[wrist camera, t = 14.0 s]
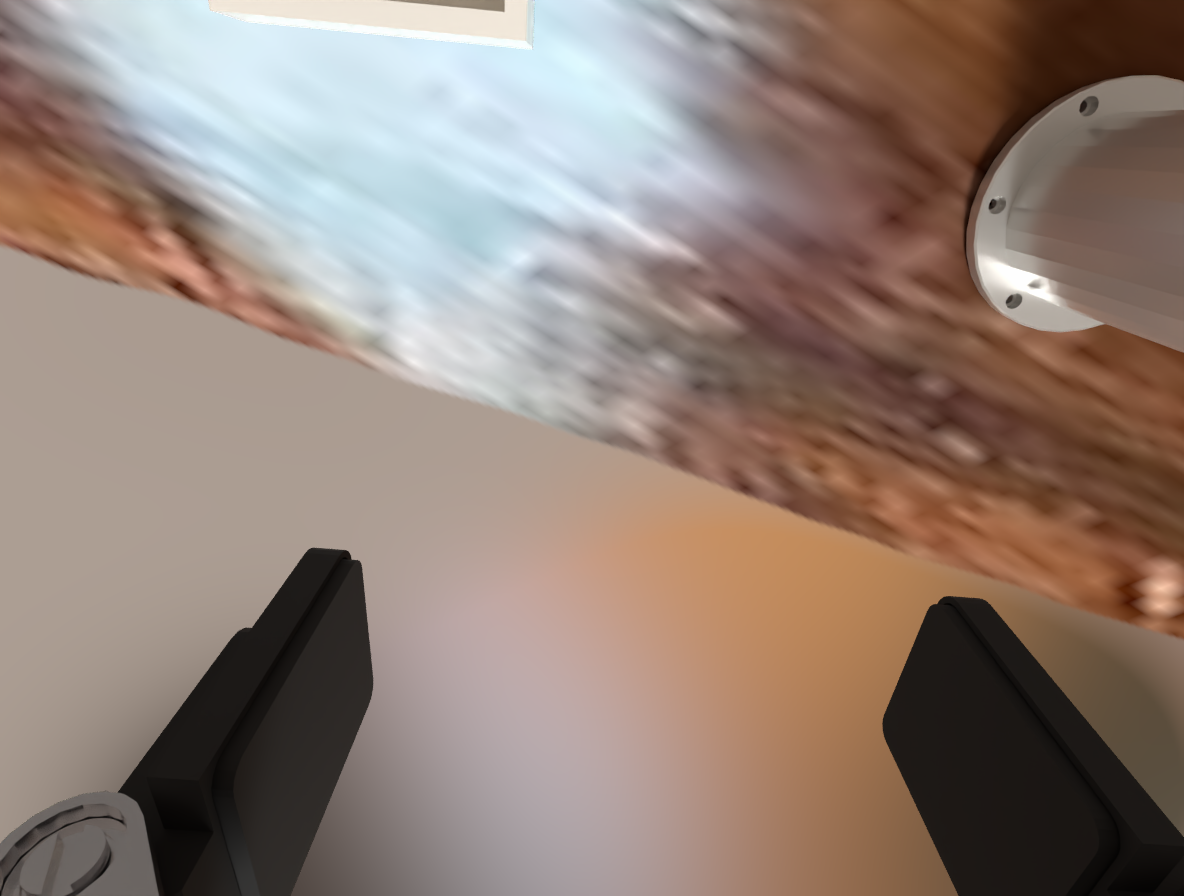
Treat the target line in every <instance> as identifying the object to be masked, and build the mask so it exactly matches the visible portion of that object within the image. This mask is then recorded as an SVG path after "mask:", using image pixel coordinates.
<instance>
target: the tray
mask: <svg viewBox="0 0 1184 896" xmlns="http://www.w3.org/2000/svg"><path fill="white" fill-rule="evenodd" d="M208 1H209V7H210V11H213V12H216V13H219V14H223V15H226V16H229V17H232V18H235V19H238V20H241V21H244V22H251V23H261V24H271V25H282V26H292V27H302V28H313V29H323V30H333V31H344V32H354V33H365V34H375V35H385V36H396V37H406V38H416V39H427V40H437V41H448V42H458V43H468V44H479V45H489V46H499V47H510V48H520V49H531V50H533V41H534V12H535V0H208Z"/></svg>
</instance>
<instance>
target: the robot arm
mask: <svg viewBox="0 0 1184 896" xmlns="http://www.w3.org/2000/svg"><path fill="white" fill-rule="evenodd" d="M1080 105H1081V108H1080ZM991 200H992V204H991V206H990V207H989V203H990V202H991ZM966 255H967V260H968V264H969V269H970V274H971V276H972V279H973V281H974V283H975V285H976V287H977V289H978V292H979V293H980V294H981V295H982V297H983V298H984V299H985V300H986V302H987V303H988V304H989V305H990V306H991V307H992V308H994V309H995V310H996V311H997V312H999V313H1000V314H1001V315H1003V316H1004V317H1006V318H1008V319H1011V320H1013V321H1015V322H1017V323H1019V324H1021V325H1024V326H1027V327H1030V328H1034V329H1037V330H1042V331H1053V332H1067V331H1077V330H1084V329H1088V328H1092V327H1096V326H1099V325H1103V324H1108V325H1110V326H1113V327H1116V328H1118V329H1121V330H1124V331H1127V332H1129V333H1132V334H1135V335H1137V336H1140V337H1143V338H1146V339H1148V340H1151V341H1154V342H1156V343H1159V344H1162V345H1164V346H1167V347H1170V348H1173V349H1175V350H1178V351H1181V352H1183V353H1184V82H1183V81H1181V80H1177V79H1172V78H1168V77H1163V76H1159V75H1143V76H1127V77H1120V78H1113V79H1106V80H1103V81H1100V82H1097V83H1094V84H1091V85H1088V86H1084V87H1081V88H1079V89H1077V90H1075V91H1073V92H1071V93H1069V94H1068V95H1066V96H1064V97H1062V98H1060V99H1058V100H1056V101H1054V102H1053V103H1052V104H1050V105H1049V106H1047V107H1046V108H1045V109H1043V110H1042V111H1041V112H1039V113H1038V114H1036V115H1035V116H1034V117H1032V118H1031V119H1030V120H1029V121H1028V122H1027V123H1026V124H1025V125H1024V126H1023V127H1022V128H1021V129H1020V130H1019V131H1018V132H1017V133H1016V134H1015V135H1014V136H1013V137H1012V138H1011V139H1010V140H1009V141H1008V143H1007V144H1006V145H1005V147H1004V148H1003V149H1002V150H1001V152H1000V153H999V154H998V156H997V157H996V158H995V159H994V161H993V163H992V164H991V166H990V168H989V170H988V171H987V173H986V175H985V177H984V179H983V180H982V182H981V184H980V186H979V189H978V192H977V194H976V197H975V200H974V202H973V205H972V207H971V212H970V217H969V222H968V227H967V239H966ZM1007 298H1008V299H1007ZM369 643H370V642H369V633H368V623H367V613H366V603H365V593H364V583H363V573H362V565H361V563H360V561H358V560H351V555H350V553H349V552H348V551H346V550H335V549H323V548H311V549H309V550H308V551H307V552H306V553H305V554H304V556H303V557H302V559H301V560H300V561H299V563H298V564H297V566H296V567H295V568H294V570H293V571H292V573H291V574H290V575H289V577H288V578H287V580H286V581H285V582H284V584H283V585H282V587H281V588H280V589H279V591H278V592H277V594H276V595H275V597H274V598H273V599H272V601H271V602H270V603H269V605H268V606H267V608H266V609H265V610H264V612H263V613H262V615H261V616H260V617H259V619H258V620H257V622H256V623H255V624H254V626H253V627H252V628H244V629H242V630H240V631H238V632H237V633H236V634H235V636H233V638H232V639H231V640H230V641H229V642H228V644H227V645H226V647H225V648H224V649H223V651H222V652H221V653H220V655H219V656H218V657H217V659H216V660H215V662H214V663H213V664H212V665H211V667H210V668H209V670H208V671H207V672H206V674H205V675H204V676H203V678H202V679H201V680H200V682H199V683H198V684H197V686H196V687H195V689H194V690H193V691H192V693H191V694H190V695H189V697H188V698H187V699H186V701H185V702H184V703H183V705H182V706H181V707H180V709H179V710H178V712H177V713H176V714H175V715H174V717H173V718H172V720H171V721H170V722H169V724H168V725H167V727H166V728H165V729H164V730H163V732H162V733H161V734H160V736H159V737H158V739H157V740H156V741H155V743H154V744H153V745H152V747H151V748H150V749H149V751H148V752H147V753H146V755H145V756H144V757H143V759H142V760H141V761H140V763H139V764H138V766H137V767H136V769H135V770H134V771H133V772H132V774H131V775H130V776H129V778H128V779H127V780H126V782H125V783H124V784H123V786H122V787H121V789H120V790H119V791H118V793H116V792H109V791H101V792H93V793H86V794H81V795H78V796H75V797H72V798H70V799H66V800H63V801H60V802H58V803H56V804H54V805H52V806H50V807H49V808H47V809H45V810H43V811H41V812H39V813H37V814H36V815H34V816H32V817H31V818H30V819H28V820H27V821H26V822H24V823H23V824H22V825H20V826H19V827H18V828H16V829H15V830H14V831H12V832H11V833H10V834H9V835H8V836H7V837H6V838H5V839H4V840H3V841H2V842H1V843H0V896H291V893H292V891H293V888H294V886H295V883H296V881H297V878H298V876H299V874H300V871H301V868H302V866H303V864H304V861H305V859H306V857H307V854H308V852H309V849H310V847H311V844H312V842H313V840H314V837H315V834H316V832H317V830H318V827H319V825H320V822H321V820H322V818H323V815H324V813H325V810H326V808H327V805H328V803H329V801H330V798H331V796H332V793H333V791H334V788H335V786H336V783H337V781H338V779H339V776H340V774H341V771H342V769H343V766H344V764H345V761H346V759H347V757H348V754H349V752H350V749H351V747H352V744H353V742H354V740H355V737H356V735H357V732H358V730H359V727H360V725H361V723H362V720H363V717H364V715H365V713H366V710H367V708H368V705H369V703H370V700H371V696H372V690H373V672H372V663H371V653H370V644H369ZM883 733H884V737H885V740H886V742H887V745H888V747H889V749H890V751H891V753H892V755H893V757H894V760H895V762H896V763H897V766H898V768H899V770H900V772H901V774H902V777H903V779H904V781H905V783H906V785H907V787H908V789H909V791H910V794H911V795H912V798H913V799H914V802H915V804H916V806H917V808H918V811H919V813H920V815H921V817H922V819H923V821H924V823H925V825H926V827H927V830H928V832H929V834H930V836H931V838H932V840H933V842H934V844H935V847H936V848H937V851H938V853H939V855H940V857H941V859H942V861H943V864H944V866H945V868H946V870H947V872H948V874H949V876H950V878H951V881H952V883H953V885H954V887H955V889H956V891H957V893H958V895H959V896H1184V837H1183V836H1182V835H1181V833H1180V832H1179V831H1178V830H1177V829H1176V827H1175V826H1174V825H1173V824H1172V823H1171V821H1170V820H1169V819H1168V818H1167V817H1166V815H1165V814H1164V813H1163V812H1162V811H1161V809H1160V808H1159V807H1158V806H1157V805H1156V803H1155V802H1154V801H1153V800H1152V799H1151V797H1150V796H1149V795H1148V794H1147V793H1146V791H1145V790H1144V789H1143V788H1142V787H1141V785H1140V784H1139V783H1138V782H1137V780H1136V779H1135V778H1134V777H1133V776H1132V775H1131V773H1130V772H1129V771H1128V770H1127V768H1126V767H1125V766H1124V765H1123V764H1122V763H1121V761H1120V760H1119V759H1118V758H1117V756H1116V755H1115V754H1114V753H1113V752H1112V750H1111V749H1110V748H1109V747H1108V746H1107V745H1106V743H1105V742H1104V741H1103V740H1102V738H1101V737H1100V736H1099V735H1098V734H1097V732H1096V731H1095V730H1094V729H1093V728H1092V726H1091V725H1090V724H1089V723H1088V722H1087V720H1086V719H1085V718H1084V717H1083V716H1082V714H1081V713H1080V712H1079V711H1078V710H1077V708H1076V707H1075V706H1074V705H1073V704H1072V702H1071V701H1070V700H1069V699H1068V698H1067V696H1066V695H1065V694H1064V693H1063V692H1062V690H1061V689H1060V688H1059V687H1058V686H1057V684H1056V683H1055V682H1054V681H1053V680H1052V678H1051V677H1050V676H1049V675H1048V674H1047V672H1046V671H1045V670H1044V669H1043V667H1042V666H1041V665H1040V664H1039V663H1038V662H1037V660H1036V659H1035V658H1034V657H1033V656H1032V655H1031V653H1030V652H1029V651H1028V649H1027V648H1026V647H1025V646H1024V645H1023V643H1021V641H1020V640H1019V639H1018V637H1017V636H1016V635H1015V634H1014V633H1013V631H1012V630H1011V629H1010V628H1009V627H1008V625H1007V624H1006V623H1005V622H1004V621H1003V620H1002V618H1001V617H1000V616H999V615H998V614H997V612H996V611H995V610H994V609H993V607H992V606H991V605H990V604H989V603H988V602H987V601H985V600H983V599H979V598H965V597H953V596H946V597H943V598H942V599H940V601H939V602H938V604H934V605H932V606H930V607H929V609H928V611H927V613H926V616H925V618H924V620H923V623H922V625H921V628H920V630H919V632H918V635H917V637H916V640H915V642H914V644H913V647H912V649H911V652H910V654H909V656H908V659H907V661H906V664H905V666H904V669H903V671H902V673H901V676H900V678H899V680H898V683H897V686H896V688H895V690H894V692H893V695H892V697H891V700H890V702H889V705H888V707H887V709H886V712H885V714H884V718H883Z"/></svg>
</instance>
